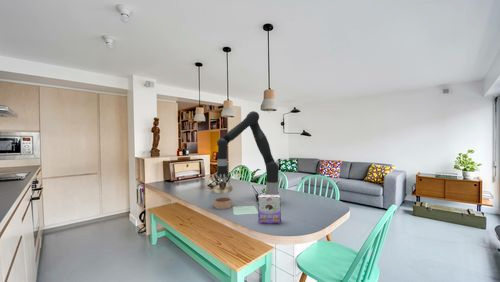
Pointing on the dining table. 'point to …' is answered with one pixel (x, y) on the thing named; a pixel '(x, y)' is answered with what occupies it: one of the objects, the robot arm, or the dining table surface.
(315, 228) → the dining table surface
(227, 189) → the lid
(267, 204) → the candy box
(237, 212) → the mat
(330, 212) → the dining table surface
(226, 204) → the bowl
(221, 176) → the robot arm
